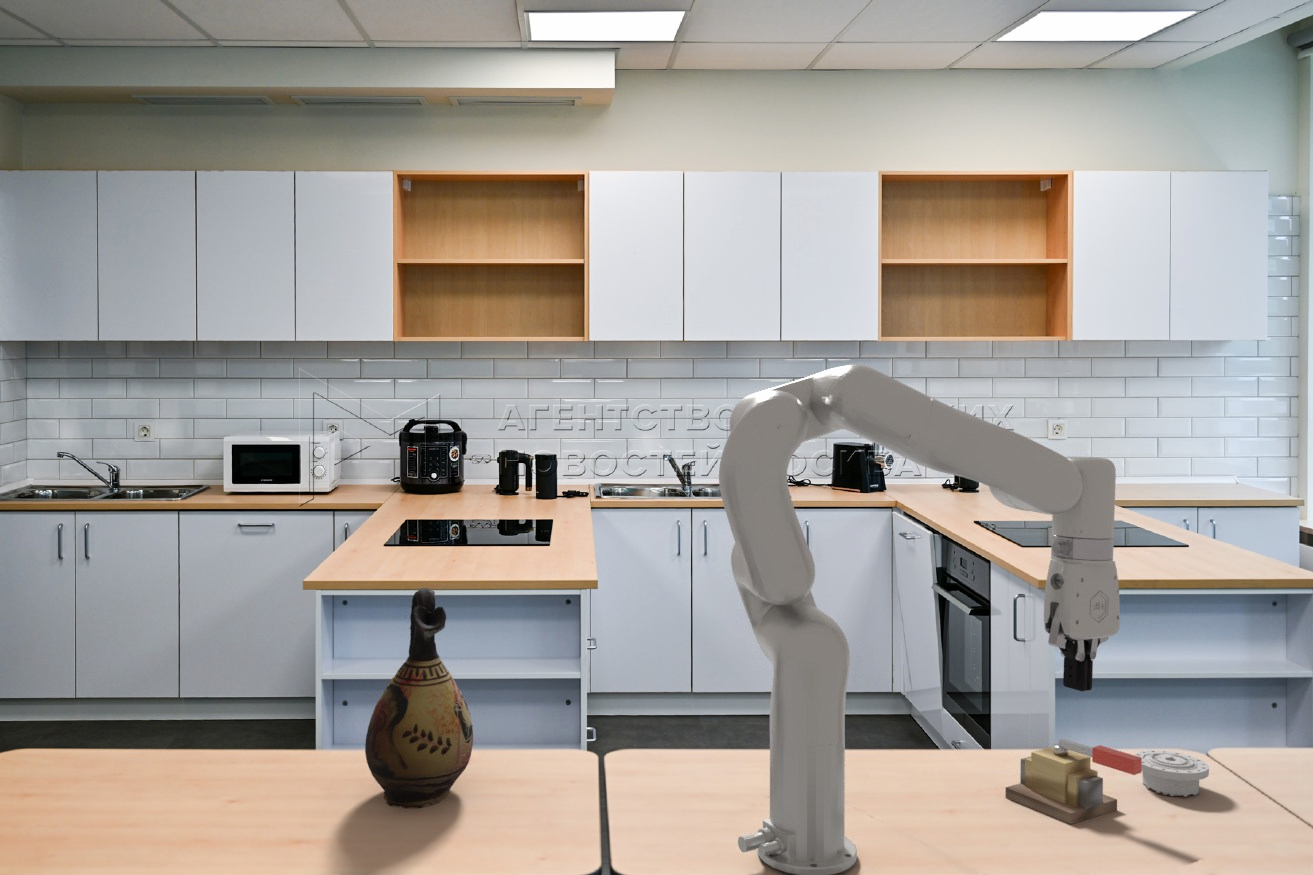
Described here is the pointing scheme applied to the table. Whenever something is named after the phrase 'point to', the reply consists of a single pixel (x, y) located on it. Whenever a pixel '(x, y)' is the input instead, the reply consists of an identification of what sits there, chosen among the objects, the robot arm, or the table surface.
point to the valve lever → (1102, 756)
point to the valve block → (1061, 786)
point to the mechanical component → (1172, 772)
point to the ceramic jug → (420, 720)
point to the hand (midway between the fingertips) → (1077, 687)
